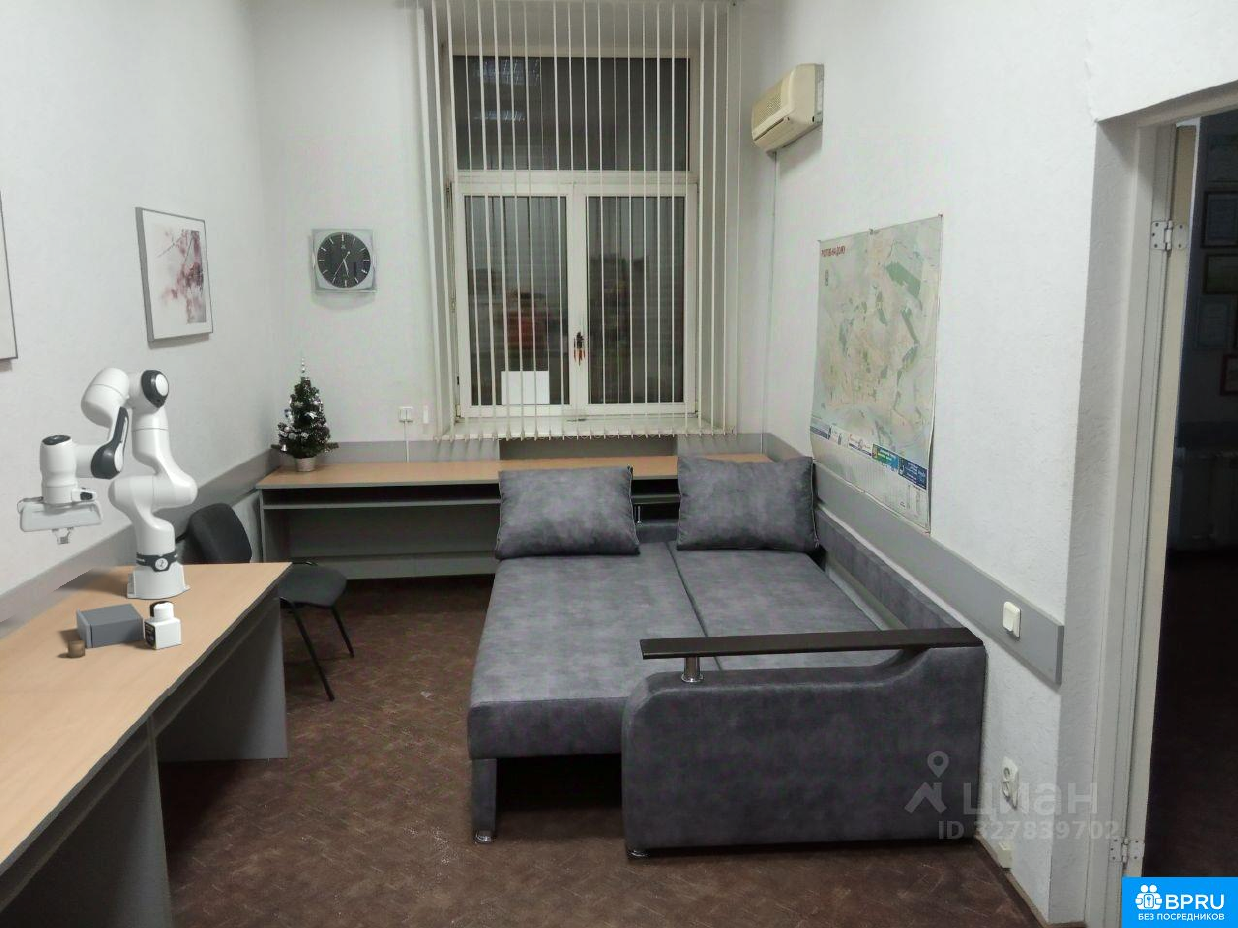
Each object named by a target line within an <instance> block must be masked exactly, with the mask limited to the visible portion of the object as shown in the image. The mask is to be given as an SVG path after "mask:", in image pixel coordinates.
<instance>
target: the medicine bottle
mask: <svg viewBox="0 0 1238 928" xmlns="http://www.w3.org/2000/svg"><path fill="white" fill-rule="evenodd" d="M148 608H149V618H146V619H143V628H144V640H145V641H144V642H145V645H147V646H149V647H151V648H152V649H154V650H155V651H157V650H163V649H167V648H171V647H175V646H180V645H182V631H181V620H180V619H179V618H177V617H175V611H174V603H173V602H172V601H168V600H160V601H155V602H152V603H150V605H149V607H148Z"/></svg>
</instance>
